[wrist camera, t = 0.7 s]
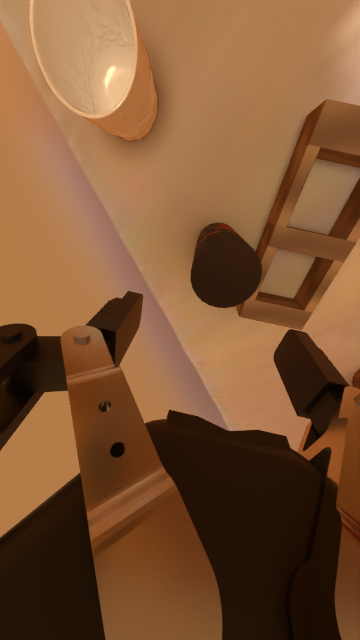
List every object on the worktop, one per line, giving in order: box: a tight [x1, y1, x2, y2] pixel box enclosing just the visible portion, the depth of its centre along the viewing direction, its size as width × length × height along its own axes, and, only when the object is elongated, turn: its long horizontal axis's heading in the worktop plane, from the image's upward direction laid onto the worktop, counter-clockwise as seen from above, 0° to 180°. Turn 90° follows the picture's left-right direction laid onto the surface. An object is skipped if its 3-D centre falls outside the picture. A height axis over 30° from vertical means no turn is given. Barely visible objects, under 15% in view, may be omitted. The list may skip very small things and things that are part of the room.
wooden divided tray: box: [236, 99, 360, 330], centre depth 26 cm, size 24×10×4 cm, turn 170°
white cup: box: [30, 0, 158, 141], centre depth 18 cm, size 8×8×10 cm
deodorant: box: [191, 223, 262, 308], centre depth 23 cm, size 6×6×15 cm
